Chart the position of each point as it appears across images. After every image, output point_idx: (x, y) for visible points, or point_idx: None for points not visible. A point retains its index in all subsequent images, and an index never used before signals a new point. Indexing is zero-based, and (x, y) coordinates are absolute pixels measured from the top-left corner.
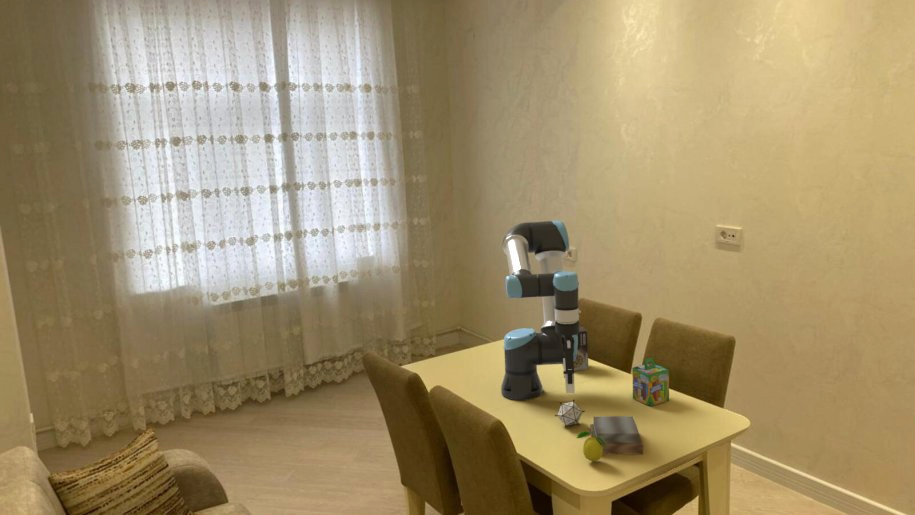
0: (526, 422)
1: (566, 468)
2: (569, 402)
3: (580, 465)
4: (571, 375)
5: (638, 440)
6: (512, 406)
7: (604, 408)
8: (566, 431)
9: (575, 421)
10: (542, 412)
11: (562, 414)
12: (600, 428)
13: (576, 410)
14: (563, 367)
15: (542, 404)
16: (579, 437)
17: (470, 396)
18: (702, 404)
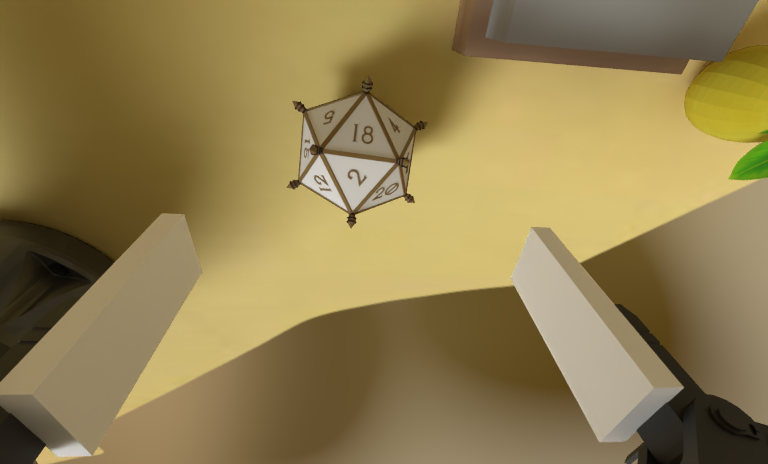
0: (329, 275)
1: (681, 182)
2: (335, 174)
3: (692, 135)
4: (697, 395)
5: None
6: (200, 310)
7: None
8: (416, 155)
9: (419, 129)
10: (236, 227)
11: (400, 197)
12: (676, 26)
13: (391, 133)
14: (148, 347)
15: None
16: (741, 168)
17: (151, 394)
18: None
